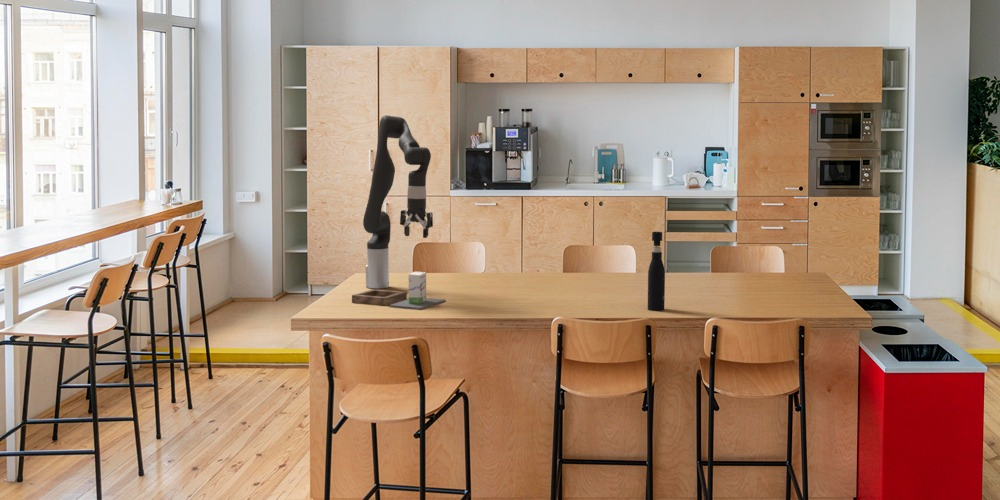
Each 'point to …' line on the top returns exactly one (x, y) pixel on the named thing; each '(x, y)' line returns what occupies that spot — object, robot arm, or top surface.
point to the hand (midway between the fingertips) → (416, 236)
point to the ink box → (417, 287)
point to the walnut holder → (379, 297)
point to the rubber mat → (426, 304)
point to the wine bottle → (656, 276)
